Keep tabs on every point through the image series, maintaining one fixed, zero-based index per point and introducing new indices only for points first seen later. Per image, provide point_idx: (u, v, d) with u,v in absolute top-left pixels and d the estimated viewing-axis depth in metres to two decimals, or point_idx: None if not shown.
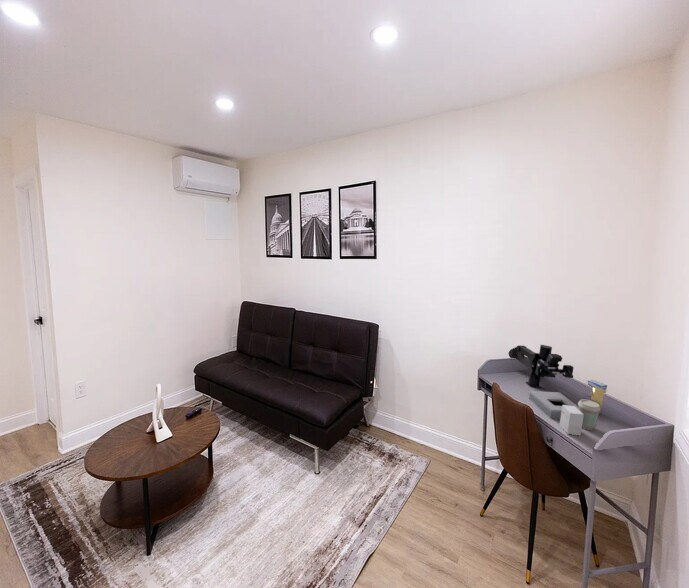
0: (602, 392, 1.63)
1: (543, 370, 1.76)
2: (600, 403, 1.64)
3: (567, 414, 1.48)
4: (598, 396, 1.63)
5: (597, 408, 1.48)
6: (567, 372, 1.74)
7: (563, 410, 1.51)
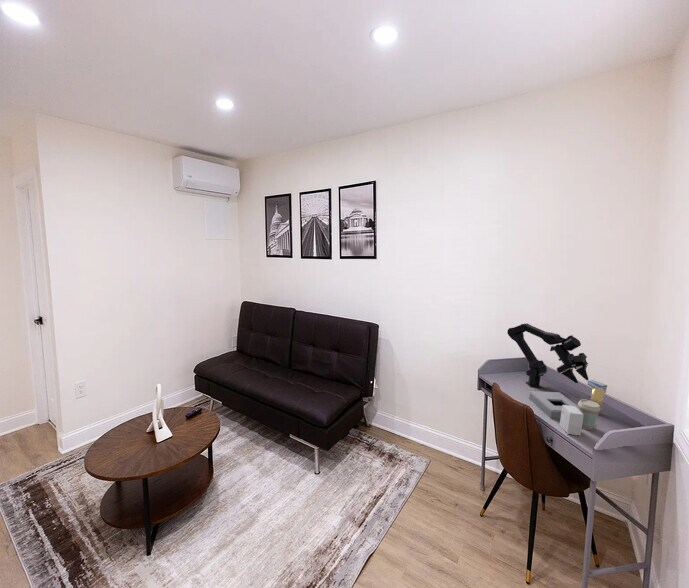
0: (602, 392, 1.63)
1: (567, 371, 1.71)
2: (600, 403, 1.64)
3: (567, 414, 1.48)
4: (598, 396, 1.63)
5: (597, 408, 1.48)
6: (582, 370, 1.76)
7: (563, 410, 1.51)
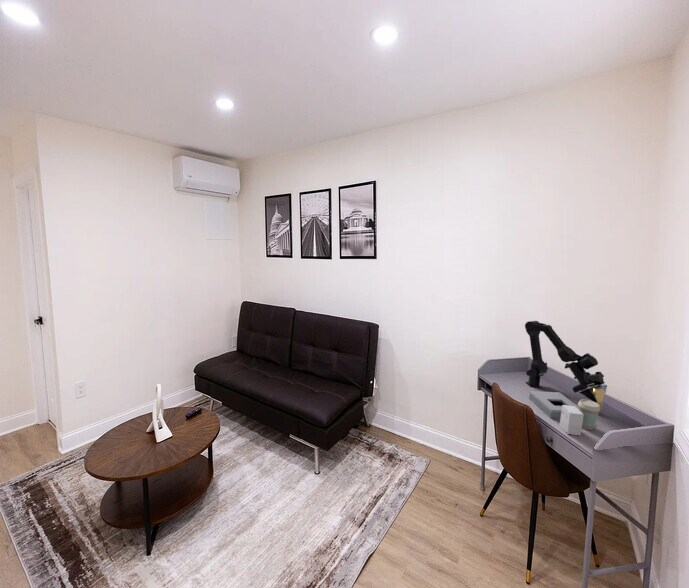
0: (602, 392, 1.63)
1: (586, 390, 1.66)
2: (600, 403, 1.64)
3: (567, 414, 1.48)
4: (598, 396, 1.63)
5: (597, 408, 1.48)
6: None
7: (563, 410, 1.51)
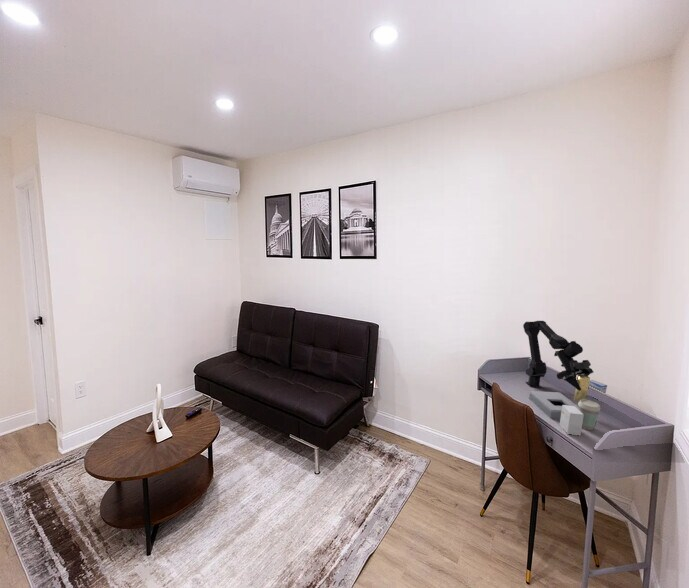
0: (587, 380, 1.60)
1: (570, 378, 1.64)
2: (584, 391, 1.61)
3: (567, 414, 1.48)
4: (582, 384, 1.61)
5: (597, 408, 1.48)
6: None
7: (563, 410, 1.51)
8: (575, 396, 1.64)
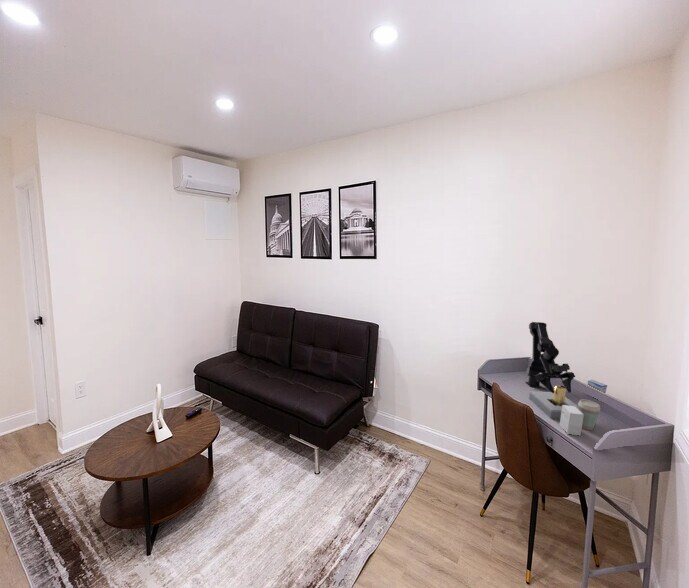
0: (562, 390, 1.63)
1: (544, 380, 1.67)
2: (560, 401, 1.64)
3: (567, 414, 1.48)
4: (558, 394, 1.64)
5: (597, 408, 1.48)
6: (567, 382, 1.68)
7: (563, 410, 1.51)
8: None
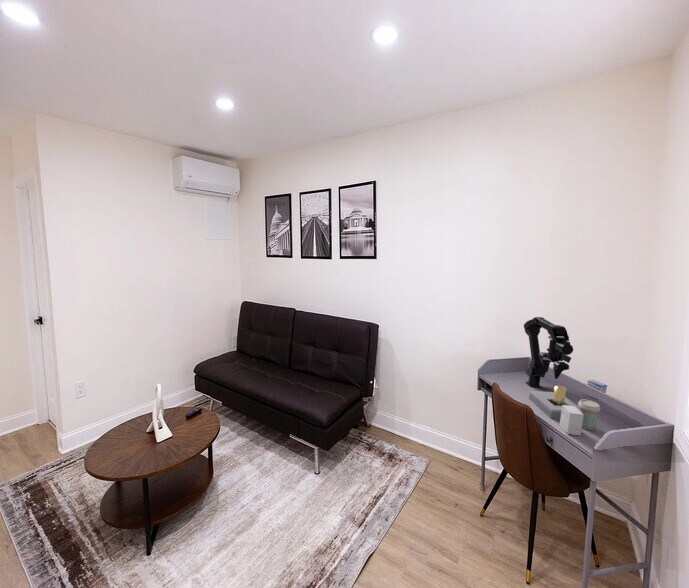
0: (562, 390, 1.63)
1: None
2: (560, 401, 1.64)
3: (567, 414, 1.48)
4: (558, 394, 1.64)
5: (597, 408, 1.48)
6: (548, 363, 1.84)
7: (563, 410, 1.51)
8: None
